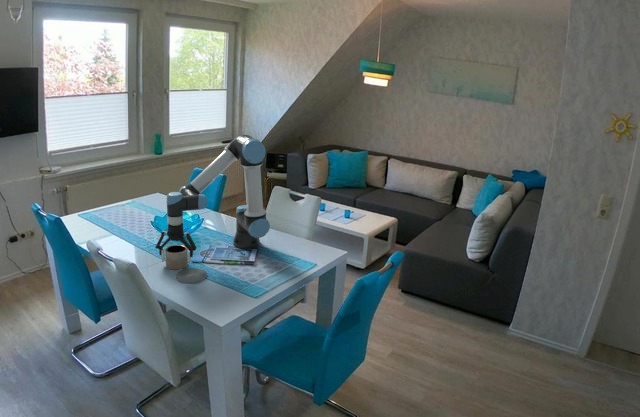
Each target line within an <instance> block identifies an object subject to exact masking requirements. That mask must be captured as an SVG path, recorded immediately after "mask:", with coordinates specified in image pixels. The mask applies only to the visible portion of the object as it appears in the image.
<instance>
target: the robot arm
mask: <svg viewBox="0 0 640 417" xmlns="http://www.w3.org/2000/svg"><path fill="white" fill-rule="evenodd" d="M265 157H266V147H265V146H264V144H263V143H262V142H261V141H260V140H259V139H257V138H254V137H252V136H250V135H249V134H241V135H238V136H236V137H235V138H234V139H233V140H230V142H229V143H228V144H226V146H224V149H223V151H222V152H221V153H220V154H219V155H218V156H217V157H216V158H215V159H214V160H213V161H212V162H211V163H209V165H207V166H206V167H205V168H204V169H203V171H201V172H200V173H199V174H198V175H197V176H196V177H195V178H194V179H192V181H190V183H189V184H188V185H185V186H181V187H180V189H179V191H170V192H169V193H167V195H166V214H167V215H166V216H167V218H166V220H167V231H166V230H165V229H164V230H162V231H161V233H160V234H161V235H160V236H159V237H160V238H159V239H158V241H157V244H156V245H155V249H159V256H161V262H162V263H164V262H165V261H166V250H165V248H164V247H165V246H166V245H168V243H169V242H170V241H173V242H174V241H175V242H179V241H180V243H182V245H184V246H186V247H187V254H188V264H191V263H192V258H193V256H194V251H196V250H197V246H196V243H195V241H194V240H193V238H192V237H191V232H190V231H187V232H184V223H183V222H184V212H189V211H198V210H199V211H200V210H205V209H207V207H208V199H207V196H206V195H205V194H202V192H204V190H206V188H208V187H209V186H210V185H211V184H212V183H213V182H214V181H215V180H216V179H217V178H218V177H220V175H221V174H222V173H223V172H225V170H226V169H228V167H230V166H231V165H232V164H233V163H234V162H235V161H236V162H237V161H239V162H240V166H241V167H242V168H243V173H244V174H243V176H244V188H245V190H244V191H245V200H246V201H245V202H246V204H243V205H238V206H237V207H236V209H235V210H236V211H235V212H236V217H235V218H236V219H235V223H236V226H235V227H236V228H235V230H236V231H235V235H234V237H233V240H232V242H233V243H232V245H233V246H234V247H236V248H238V249H242V250H245V249H246V250H248V248H250V249H254V248H257V247H259V246H260V240H261V238H263V237H265V236H266V235H267V234H268V233H269V231H270V230H271V225H270V221H269V220H267V211H266V210H265V209H264V204H263V202H264V201H263V192H262V191H263V188H262V186H263V185H262V173H261V166H263V164H264V159H265ZM166 235H167V236H168V238H167V239H166V240H165V241H164V242H163V243H162V241H163V240H164V238H165V237H166ZM184 236H185V237H186V239H187V240H186V239H185V237H184ZM161 243H162V244H161Z"/></svg>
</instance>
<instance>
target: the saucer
mask: <svg viewBox="0 0 640 417" xmlns="http://www.w3.org/2000/svg"><path fill="white" fill-rule="evenodd" d="M174 277H175V280H176V281H177V282H180V283H182V284H197V283H200V282H203V281H205V279H207V278H208V273H207V271H206V270H204V269H203V268H198V267H189V268H187V267H186V268H183V269H180V270H178V271H177V272H176V273H175V276H174Z"/></svg>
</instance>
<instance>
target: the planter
mask: <svg viewBox="0 0 640 417" xmlns="http://www.w3.org/2000/svg"><path fill="white" fill-rule="evenodd" d="M188 264H189V263H188V249H187V247H186V246H185V245H184V244H174V245H169V246H167V247H166V248H165V266H166V268H168V269H169V270H173V271H177V270H178V271H180V270H183V269H186V268H187V267H188V266H189V265H188Z"/></svg>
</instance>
